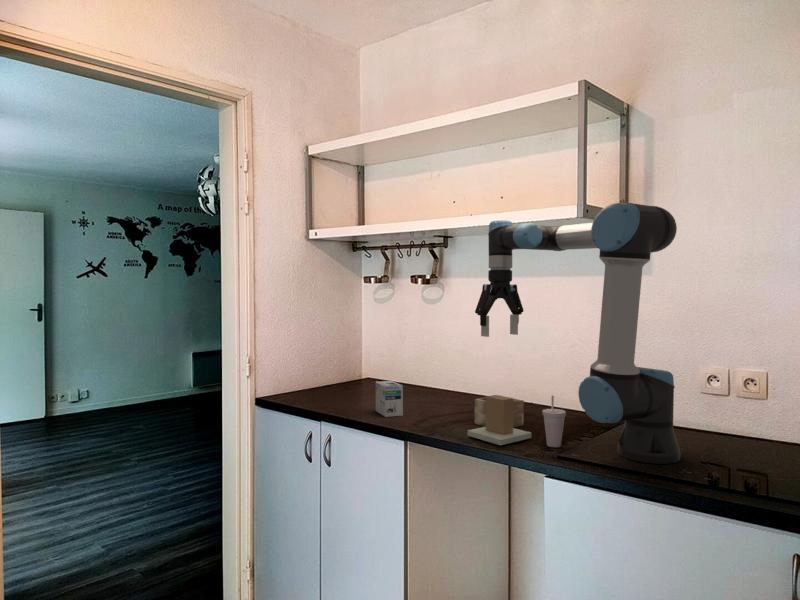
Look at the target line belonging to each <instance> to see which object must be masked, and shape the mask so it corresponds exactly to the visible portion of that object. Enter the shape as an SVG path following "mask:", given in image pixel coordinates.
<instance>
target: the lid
mask: <svg viewBox="0 0 800 600" xmlns="http://www.w3.org/2000/svg"><path fill="white" fill-rule="evenodd" d="M485 397H486V426H482V427H476V428H473V429H468V430H467V436H468V437H472V438H475V439H477V438H478V439H477V440H480V439H481V441H483V442H487V441H488V443H491V444H495V445H497V444H498V446H503V445H508V444H512V443H516V442H520V441H524V440H528V439H532V432H530V431H526V430H523V429H518V428H516V427H513V398H514V397H510V398H508V397H509V396H505V397H503V395H500V396H499V394H493V395H492V394H491V395H486V396H485Z"/></svg>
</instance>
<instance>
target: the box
mask: <svg viewBox="0 0 800 600" xmlns="http://www.w3.org/2000/svg"><path fill="white" fill-rule="evenodd" d="M498 395H499V394H498ZM499 396H501V395H499ZM502 396H503V395H502ZM503 397H506V396H503ZM507 397H508V398H511V397H509V396H507ZM512 398H513V428H516V427H521V426H524V417H525V416H524V414H525V413H524V410H525V409H524V407H525V406H524V402H525V401H524V399H520V398H519V399H518V398H515V397H512ZM474 425H479V426H482V427H486V396H483V397H479V398H474Z"/></svg>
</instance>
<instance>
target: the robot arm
mask: <svg viewBox="0 0 800 600" xmlns="http://www.w3.org/2000/svg"><path fill="white" fill-rule="evenodd" d="M488 224H489V225H488V234H487V236H488V268H489V269H490V270H488V277H487V281H489V283H484V284H482V288H481V289H482V290H481V294H480V296H479V299H478V302H477V304H476V308H475V310H474V312H475V314H477V315H478V316H479V319H480V320H479V325H480V336H481V337H486V338H489V337H490V315H488V314H489V312H490V311H491V309H492V307H493V306H494V304H495V302H496V301H497V300H498V299H503V300H504V302H505V304H506V305H507V307H508V308H509V311H510V312H511V314H509V334H510V335H514V336H515V335H518V334H519V322H520V320H519V319H520V315H522V313H524V308H523V303H522V301H521V298H520V295H519V291H518V285H517V284H516V283H515V284H511V282H512V280H513V271H512V268H513V250H536V251H539V250H540V251H554V252H562V251H567V250H587V249H588V250H589V249H598V250H599V255H598V257H599V260H600V261H601V262H602V263H603V264H604V276H603V286H602V287H603V288H602V299H601V312H600V323H599V325H600V326H599V334H598V335H599V337H598V345H597V346H598V347H597V349H598V350H597V359H596V360H595V361H594V362H593V363H592V364H590V368H589V369H590V370H589V376H586V377H585V378H584V379H583V381H581V382H580V383H579V385H578V399H579V400H578V401H579V404H580V405H581V408H582V409H583V410H584V412H585V414H586V415H587V416H588V417H589V418H590V419H591V420H593V421H595V422H597V423H600V424H615V423H616V424H617V423H619V422H624V426H623V428H622V431H621V434H620V437H619V439H618V442H617V454H618V455H619V456H621V457H623V458H625V459H627V460H631V461H636V462H638V463H639V462H640V463H645V464H646V463H647V464H658V465H659V464H660V465H665V464H673V463H678V462H680V461H681V449H680V445H679V443H678V439H677V436H676V434H675V430H674V405H675V404H674V403H675V402H674V397H675V396H674V395H675V393H674V392H675V391H674V390H675V384H674V383H675V382H674V375H673V374H672V372H671V371H668V370H663V369H656V368H649V367H643V366H642V367H641V366H636V365H635V357H636V345H637V333H638V322H639V313H640V298H641V291H642V290H641V287H642V278H643V267H644V266H645V265H646V264H647V263H649V262H650V261H651V254H652V253H658V252H660V251H663V250H665V249H667V247H669V246H671V244H672V243H673V242H674V239H675V237H676V235H677V229H678V228H677V227H678V226H677V222H676V219H675V217H674V216H673V214H672V213H670V212H669V211H668V210H667V209H665V208H663V207H661V206H658V205H657V206H656V205H646V204H638V203H633V202H614V203H611V204H608V205H606V206H604V207H603V208H602V209H601V211H600V212H598V213H597V215H596V216H595V218H594V220H593V221H592V222H584V223H575V224H564V225H553V226H551V225H550V226H549V225H547V226H545V225H537V224H536V223H533V222H530V223H529V222H528V223H527V222H524V223H521V224H515V225H513V221H511V220H507V219H505V220H503V219H501V220H492V221H490V223H488Z"/></svg>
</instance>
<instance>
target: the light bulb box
mask: <svg viewBox="0 0 800 600" xmlns="http://www.w3.org/2000/svg"><path fill="white" fill-rule="evenodd" d="M403 387H404V385H403V384H400V383H397V382H395V381H393V380H382V381H378V380H376V381H375V412H376V413H378V414H379V415H382V416H383V417H384V418H391V417H402V416H404V406H403V405H404V401H403V400H404V394H403V393H404V388H403Z"/></svg>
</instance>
